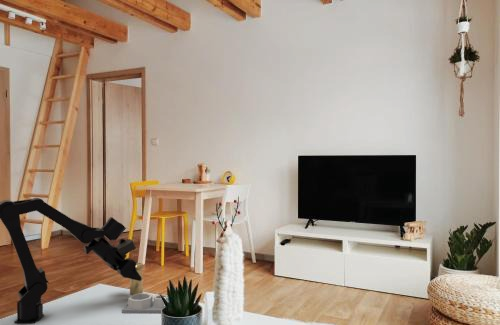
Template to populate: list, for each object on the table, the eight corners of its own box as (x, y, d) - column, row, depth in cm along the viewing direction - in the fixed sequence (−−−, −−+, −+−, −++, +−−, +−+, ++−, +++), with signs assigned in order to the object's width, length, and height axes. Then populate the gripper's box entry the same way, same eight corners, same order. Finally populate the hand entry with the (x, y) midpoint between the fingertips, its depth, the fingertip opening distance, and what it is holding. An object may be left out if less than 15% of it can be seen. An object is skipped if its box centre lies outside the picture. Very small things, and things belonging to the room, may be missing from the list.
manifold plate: (121, 313, 140) (121, 301, 140) (130, 303, 149) (129, 292, 149) (169, 313, 140) (169, 301, 140) (175, 304, 149) (175, 292, 149)
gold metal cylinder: (128, 300, 153) (127, 265, 153) (132, 296, 157) (131, 262, 157) (140, 300, 153) (140, 266, 153) (144, 296, 157) (144, 262, 157)
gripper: (130, 237, 144) (161, 264, 151) (113, 229, 159) (142, 254, 166) (107, 263, 140) (139, 290, 146) (92, 253, 155) (122, 277, 162)
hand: (136, 276), depth 155 cm, fingers open, 9 cm apart
